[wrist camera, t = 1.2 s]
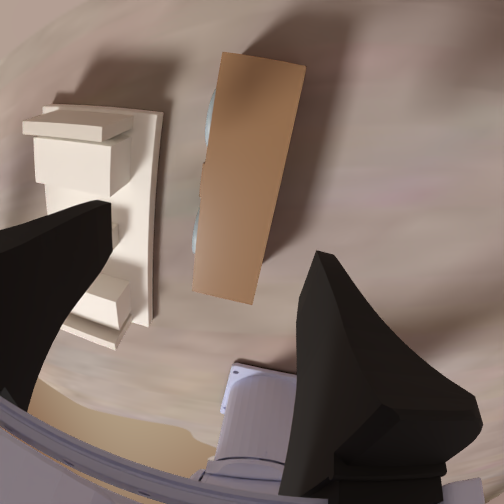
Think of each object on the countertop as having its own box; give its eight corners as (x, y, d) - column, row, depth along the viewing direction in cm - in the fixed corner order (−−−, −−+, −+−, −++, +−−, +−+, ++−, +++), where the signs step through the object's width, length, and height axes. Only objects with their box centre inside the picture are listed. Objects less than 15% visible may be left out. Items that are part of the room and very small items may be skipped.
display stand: (152, 319, 26) (133, 357, 23) (67, 291, 27) (42, 322, 23) (163, 112, 17) (128, 125, 14) (51, 103, 17) (7, 117, 14)
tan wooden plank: (260, 263, 22) (252, 305, 19) (205, 250, 22) (187, 289, 19) (304, 68, 15) (306, 66, 12) (234, 56, 16) (215, 51, 12)
